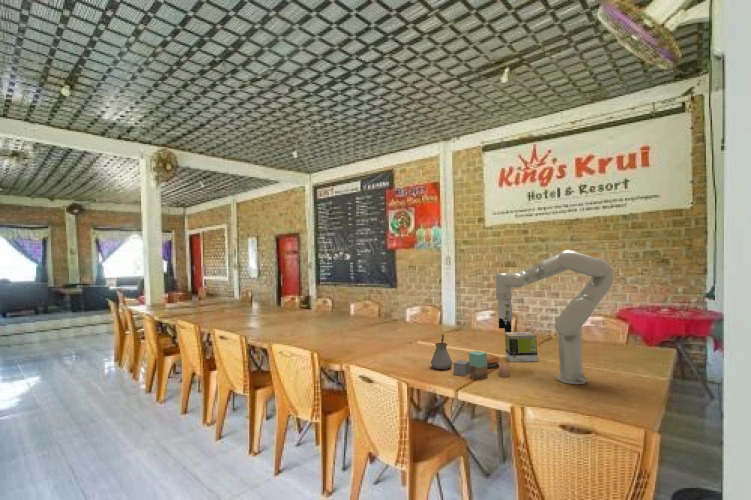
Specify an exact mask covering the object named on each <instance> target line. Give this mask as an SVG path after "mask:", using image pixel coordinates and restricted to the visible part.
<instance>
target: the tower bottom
mask: <svg viewBox="0 0 751 500" xmlns="http://www.w3.org/2000/svg"><path fill="white" fill-rule="evenodd" d="M488 371H489V370H488V368H487V366H484V367H481V368H478V367H474V366H470V373H469V377H470V378H472V377H473V378H472V379H474V378H475V379H474V380H476V379H477V380H476V381H482V380H486V378H487V379H489V377H488V376H489V373H488ZM481 379H482V380H481Z"/></svg>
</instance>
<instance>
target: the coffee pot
mask: <svg viewBox="0 0 751 500" xmlns="http://www.w3.org/2000/svg"><path fill="white" fill-rule="evenodd" d="M440 337H441V339H440V340H441V342H436V343H434V345H435V351H434V352H433V356H432V358H431V361H430V364H431V366H432V367H433V368H434V369H435V368H436V369H435V370H437V369H447V370H449V369H450V368H451V367H452V365H453V361H452V359H451V356H450V354H449V352H448V349H447V346H448V343H446V342H444V339H445V334H442V335H441V336H440ZM448 368H449V369H448Z"/></svg>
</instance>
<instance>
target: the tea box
mask: <svg viewBox="0 0 751 500" xmlns="http://www.w3.org/2000/svg"><path fill="white" fill-rule="evenodd" d="M504 344H505V356H506V359H507V360H508V361H509V362H511V363H513V362H515V363H516V362H517V363H518V362H538V360H539V359H538V344H537V335H536V334H534V333H533V332H531V331H524V332H521V331H520V332H517V331H516V332H515V331H514V332H504Z"/></svg>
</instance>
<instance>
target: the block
mask: <svg viewBox="0 0 751 500" xmlns="http://www.w3.org/2000/svg"><path fill="white" fill-rule="evenodd" d="M454 374H456V375H455V376H460V375H463V376H462V377H467V376H468V375H470V364H469V360H461V359H457V360H456V361H454V362H453V375H454ZM467 374H468V375H467ZM466 375H467V376H466Z"/></svg>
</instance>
